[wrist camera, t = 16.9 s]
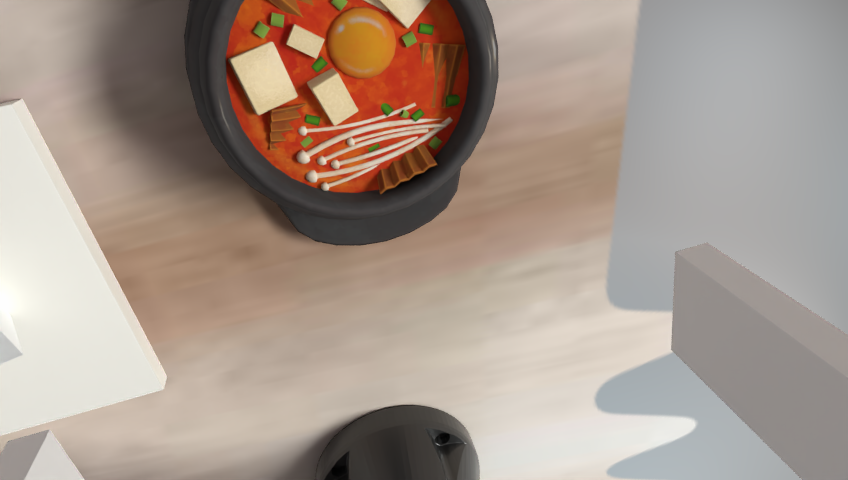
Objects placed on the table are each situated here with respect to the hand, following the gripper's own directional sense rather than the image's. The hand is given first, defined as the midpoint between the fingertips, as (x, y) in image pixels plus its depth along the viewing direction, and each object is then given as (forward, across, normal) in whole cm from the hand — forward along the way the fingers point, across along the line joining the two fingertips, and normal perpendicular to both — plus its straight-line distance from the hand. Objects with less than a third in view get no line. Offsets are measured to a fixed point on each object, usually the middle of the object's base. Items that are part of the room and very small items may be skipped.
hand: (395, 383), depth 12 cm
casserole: (+29, -2, -2) cm, 29 cm away
